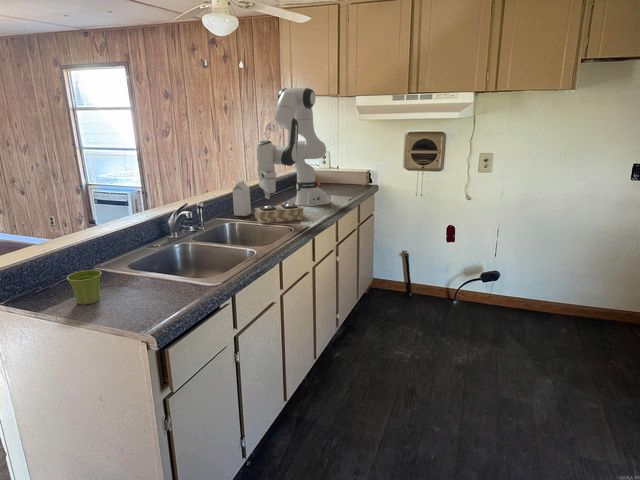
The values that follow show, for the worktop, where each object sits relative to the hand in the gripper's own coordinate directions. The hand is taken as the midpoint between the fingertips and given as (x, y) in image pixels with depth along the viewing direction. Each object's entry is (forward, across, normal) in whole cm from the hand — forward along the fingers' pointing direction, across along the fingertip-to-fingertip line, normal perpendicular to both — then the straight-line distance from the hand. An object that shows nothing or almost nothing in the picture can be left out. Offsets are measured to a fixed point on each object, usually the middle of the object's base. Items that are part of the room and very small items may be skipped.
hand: (267, 198), depth 234 cm
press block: (+12, +1, +6) cm, 13 cm away
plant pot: (+9, +82, -80) cm, 115 cm away
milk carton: (+12, -18, -10) cm, 24 cm away
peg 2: (+12, +1, +12) cm, 16 cm away
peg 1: (+11, +1, 0) cm, 11 cm away
